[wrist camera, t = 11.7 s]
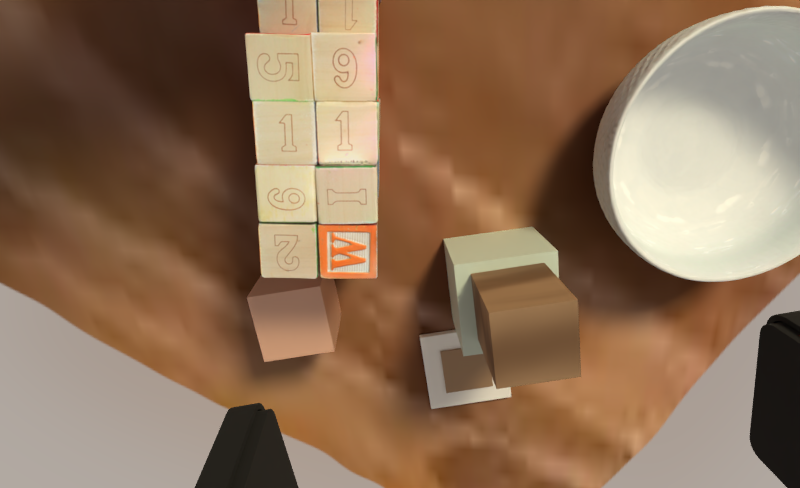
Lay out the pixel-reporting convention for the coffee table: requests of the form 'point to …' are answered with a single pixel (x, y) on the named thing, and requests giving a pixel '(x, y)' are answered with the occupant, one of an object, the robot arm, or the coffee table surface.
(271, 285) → the terracotta block
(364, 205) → the stack of blocks
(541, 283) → the walnut block
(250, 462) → the robot arm
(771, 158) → the cereal bowl
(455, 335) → the tile
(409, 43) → the coffee table surface
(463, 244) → the sage base block
